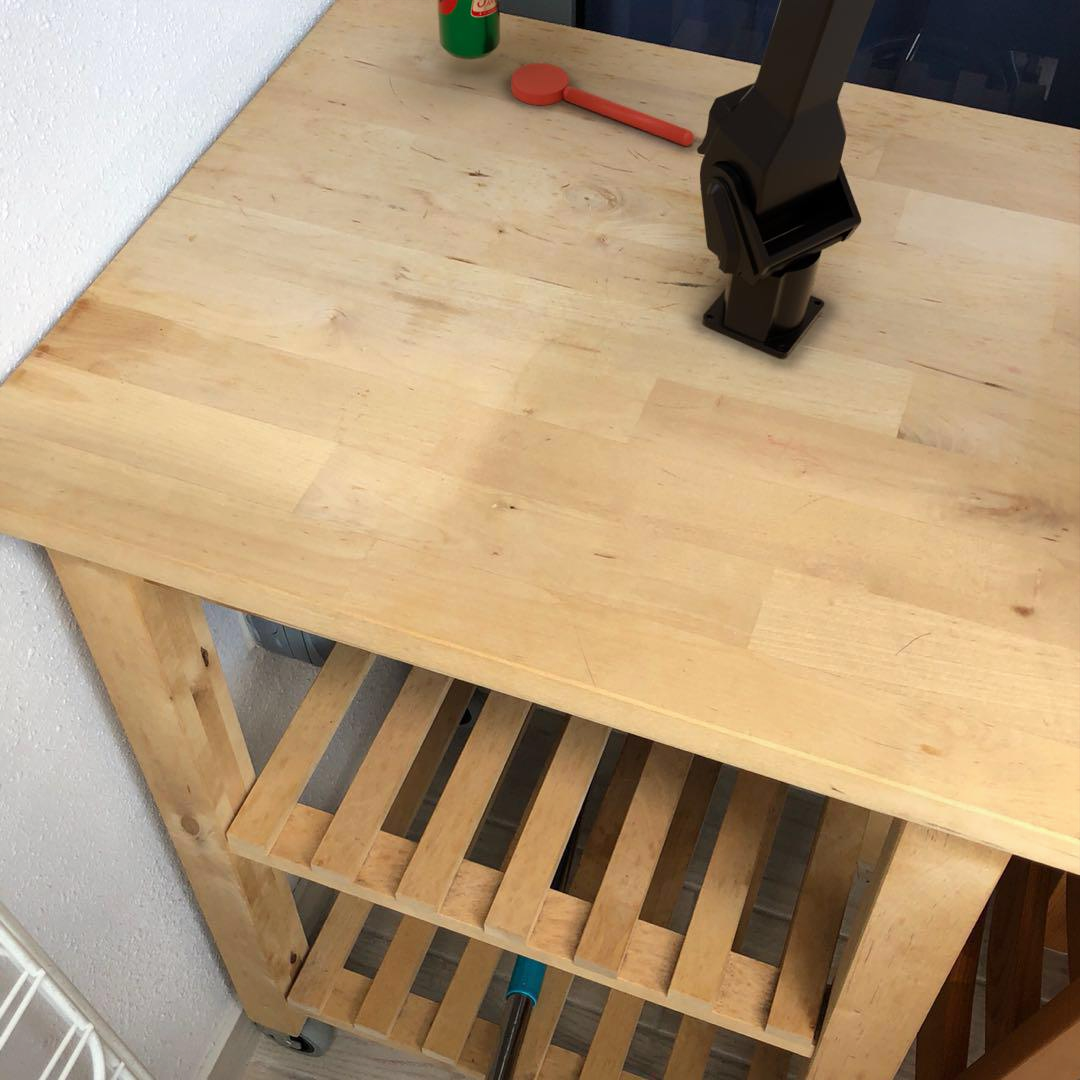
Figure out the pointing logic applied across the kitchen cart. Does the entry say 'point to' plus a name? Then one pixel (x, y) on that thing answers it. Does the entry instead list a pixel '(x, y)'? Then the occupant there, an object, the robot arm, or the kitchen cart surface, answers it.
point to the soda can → (469, 27)
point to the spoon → (585, 100)
